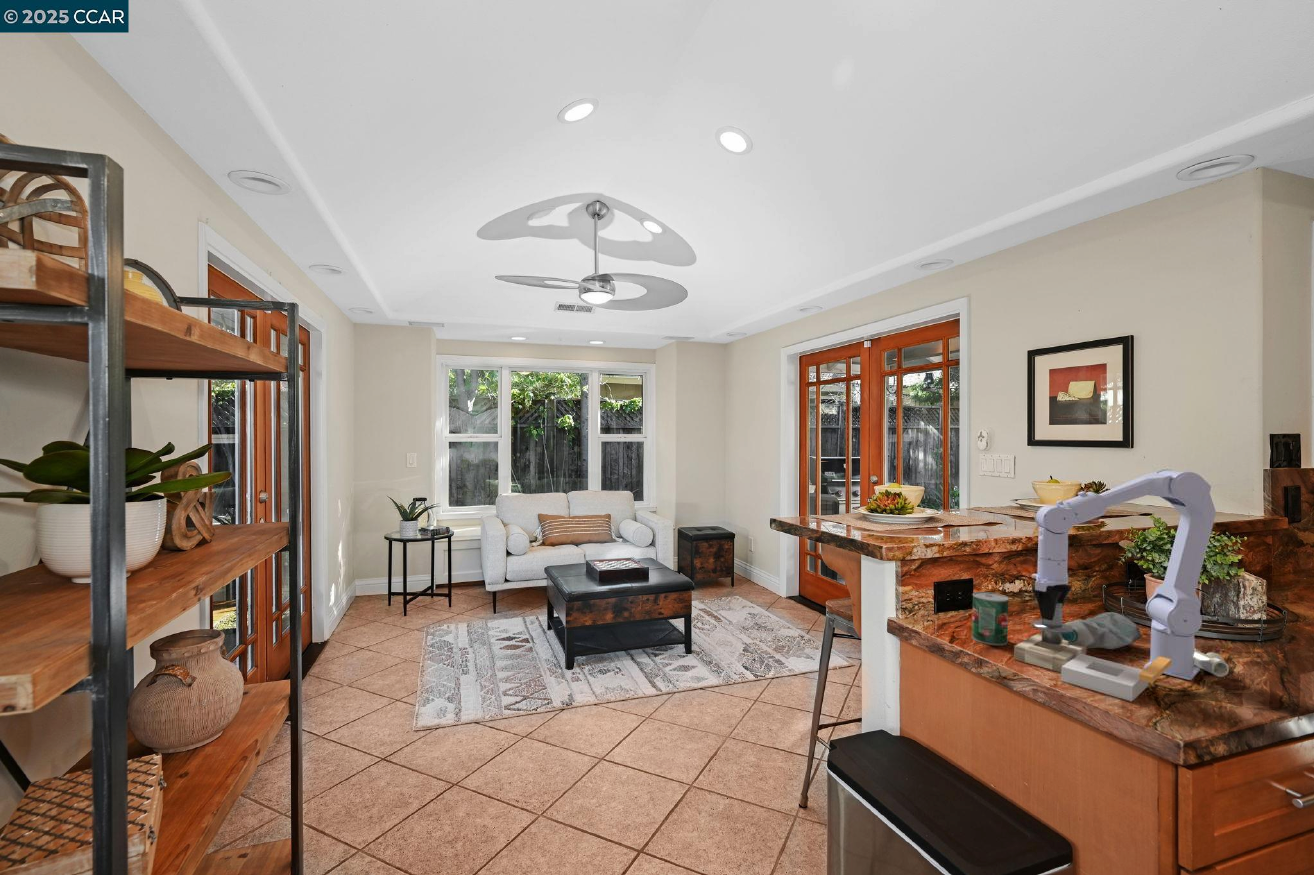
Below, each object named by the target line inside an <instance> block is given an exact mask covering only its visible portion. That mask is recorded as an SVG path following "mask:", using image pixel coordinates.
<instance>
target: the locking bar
mask: <svg viewBox="0 0 1314 875" xmlns="http://www.w3.org/2000/svg"><path fill="white" fill-rule="evenodd" d="M1170 666H1171V659H1168V658H1164V657H1160V656H1159V657H1158V658H1157V659H1156V660H1154V661H1153V662H1152V663H1151V664H1150V665H1149V666H1148V667H1147V668H1143V669H1142V670H1143V671H1142V672H1141V673H1140V674H1139V680H1142V681H1145V682H1148V684H1153V683H1154V682H1155V681H1156V680H1157V679H1159V677H1161V675H1163V674H1164V673H1163V672H1164V671H1165V670H1166V669H1167V668H1169V667H1170Z"/></svg>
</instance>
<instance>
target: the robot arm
mask: <svg viewBox="0 0 1314 875" xmlns="http://www.w3.org/2000/svg"><path fill="white" fill-rule="evenodd" d="M1211 489H1212V486H1211V484H1209V483H1208V481H1206V480H1205V479H1204V478H1203V477H1202V476H1201V475H1200V474H1198V473H1196V472H1192V471H1178V470H1172V469H1160V470H1157V471H1156V472H1149V473H1146V474H1143V475H1142V476H1139V477H1137V478H1135V479H1132V480H1130V481H1127V482H1126V483H1125V482H1124V483H1122V484H1120V485H1118V486H1115V487H1113V488H1111V489H1108V490H1106V491H1104V492H1102V493H1099V494H1098V493H1096V492H1092V491H1087V492H1086V491H1083V490H1082V491H1079V492H1078V493H1077V496H1074V497H1072V498H1069V499H1067V500H1058V501H1055V503H1056V505H1049V504H1048V505H1044V506H1042V507H1040V508H1039V510H1038V511H1037V512H1036V514H1035V515H1034V521H1035V523H1036V525H1037V526H1038V538H1037V540H1038V545H1037V547H1038V548H1037V573H1033V574H1031V578H1032V579H1036V580H1035V581H1034V585H1032V586H1031V591H1032V593H1033V596H1035V599H1036V600H1037V604H1038V609H1039V613H1040V617H1042V619H1047V620H1051V621H1052V620H1053V618H1054V614H1055V609H1056V604H1057V602H1061V603H1062V610H1063V608H1064V606H1065V605H1064V604H1065V601H1066V599H1067V598H1068V595H1069V594H1070V592H1071V591H1072V585H1068V583H1069V574H1068V562H1069V560H1068V559H1069V558H1068V557H1069V556H1068V554H1069V531H1071V530H1072V529H1073V528H1074V526H1077V525H1080V524H1083V523H1085V522H1087V521H1091V520H1094V519H1096V518H1100V517H1102V516H1104V515H1105V514H1106V512H1107V510H1108V508H1111V507H1114V506H1117V505H1120V504H1123V503H1127V502H1129V501H1133V500H1136V499H1139V498H1142V497H1144V496H1152V497H1153V496H1154V497H1160V498H1161V499H1163V500H1165V501H1167V502H1168V503H1170V505H1172V507H1174V509H1175V510H1176V511H1177V512H1178V513H1179V515H1180V519H1179V522H1178V526H1177V530H1176V534H1175V536H1174V537H1175V538H1174V542H1173V545H1172V549H1171V554H1170V557H1169V560H1168V563H1167V568H1166V572H1165V576H1164V580H1163V583H1161V584H1160V585H1158V586H1156V587H1155V590H1154V592H1153V594H1152V596H1151V597H1150V598H1149V599H1148V600H1147V602H1146V604H1145V611H1146V614H1147V615H1148V617H1149V618H1150V619H1151V624H1150V625H1151V627H1150V628H1151V629H1150V652H1149V653H1150V654H1149V655H1150V656H1149V658H1150V659H1149V662H1147V663H1145V665H1144V666H1143V669H1145V668H1147V667H1148V666H1149V665H1150V664H1151V663H1152V662H1153V661H1154V660H1156V659H1157V658H1158V657H1159V656H1160V657H1164V658H1168V659H1171V666H1170V667H1169V668H1167V669H1166V670H1165V671H1164V672H1163V673H1162V674H1163V675H1164V674H1165V675H1167V676H1171V677H1176V678H1180V679H1182V680H1183V679H1184V680H1186V681H1187V680H1188V681H1192V680H1193V679H1194V678H1195V677H1196V675H1197V674H1198V673H1200V671H1201V668H1199V667H1197V666H1195V665H1194V658H1195V649H1196V641H1195V633H1197V632H1198V631H1199V630H1200V629H1201V627H1202V623H1203V618H1202V615H1201V607H1202V603H1201V601H1200V599H1199V597H1198V594H1197V593H1196V590H1197V587H1198V584H1199V580H1200V579H1199V578H1200V576H1201V572H1202V568H1203V564H1204V561H1205V557H1206V552H1207V549H1208V545H1209V541H1210V537H1211V533H1212V531H1213V527H1214V523H1215V518H1216V515H1217V513H1216V512H1217V511H1216V507H1215V505H1214V502H1213V499H1212V495H1211V494H1210V493H1211Z"/></svg>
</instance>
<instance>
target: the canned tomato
mask: <svg viewBox="0 0 1314 875" xmlns="http://www.w3.org/2000/svg"><path fill="white" fill-rule="evenodd" d="M1009 600H1010V599H1009V597H1008V596H1005V595H1003V594H1000V593H995V592H988V591H976V592H973V593H972V623H971V638H972V639H973V640H974V641H976V642H978V643H981V644H984V645H990V646H1005V645H1007V644H1008V643H1009V642H1008V636H1009V635H1008V633H1009Z"/></svg>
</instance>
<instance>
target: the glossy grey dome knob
mask: <svg viewBox="0 0 1314 875" xmlns="http://www.w3.org/2000/svg"><path fill="white" fill-rule="evenodd" d="M1040 617H1041V616H1040ZM1030 624H1031V627H1032V628H1034V629H1036V630H1039V631H1041V640H1042V641H1043V642H1045V643H1049V644H1056V645H1060V644H1062V640H1063V638H1062V633H1071V632H1073V628H1072V627H1071V626H1069V625H1066V624H1065V623H1063V609H1062V603H1061V602H1057V604H1056V609H1055V614H1054V618H1053V620H1052V621H1051V620H1047V619H1042V617H1041V619H1040V620H1033V621H1031V623H1030Z"/></svg>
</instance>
